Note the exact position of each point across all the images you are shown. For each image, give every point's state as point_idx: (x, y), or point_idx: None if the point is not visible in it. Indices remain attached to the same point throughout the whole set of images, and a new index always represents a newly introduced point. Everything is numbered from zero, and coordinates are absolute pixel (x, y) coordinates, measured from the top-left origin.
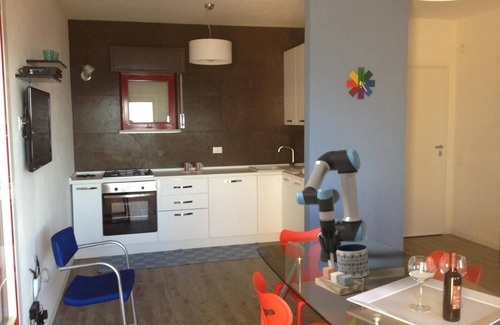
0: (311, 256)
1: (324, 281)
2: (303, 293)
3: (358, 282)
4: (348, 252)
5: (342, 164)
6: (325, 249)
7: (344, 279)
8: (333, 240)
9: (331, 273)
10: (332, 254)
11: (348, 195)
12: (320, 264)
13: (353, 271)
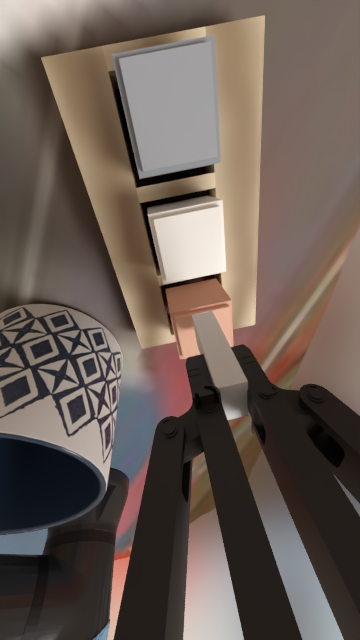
0: (140, 500)
1: (248, 261)
2: (354, 220)
3: (70, 117)
4: (32, 428)
5: None
6: (346, 425)
7: (212, 37)
8: (247, 630)
9: (223, 266)
10: (221, 378)
11: None
12: (141, 458)
13: (58, 325)
